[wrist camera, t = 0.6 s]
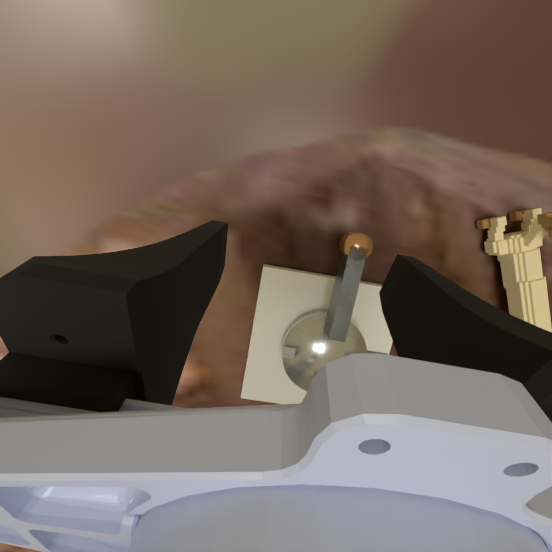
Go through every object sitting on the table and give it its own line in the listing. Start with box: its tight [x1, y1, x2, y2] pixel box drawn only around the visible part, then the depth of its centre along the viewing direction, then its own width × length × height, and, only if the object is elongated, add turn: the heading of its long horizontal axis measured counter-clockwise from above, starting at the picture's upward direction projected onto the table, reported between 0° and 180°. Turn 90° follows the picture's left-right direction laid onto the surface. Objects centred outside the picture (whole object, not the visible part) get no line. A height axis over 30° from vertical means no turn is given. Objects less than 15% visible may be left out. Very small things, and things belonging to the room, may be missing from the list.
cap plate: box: [241, 264, 393, 404], centre depth 32 cm, size 16×16×2 cm
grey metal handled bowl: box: [282, 232, 373, 391], centre depth 28 cm, size 18×9×5 cm, turn 170°
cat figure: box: [476, 208, 552, 332], centre depth 29 cm, size 10×9×25 cm
